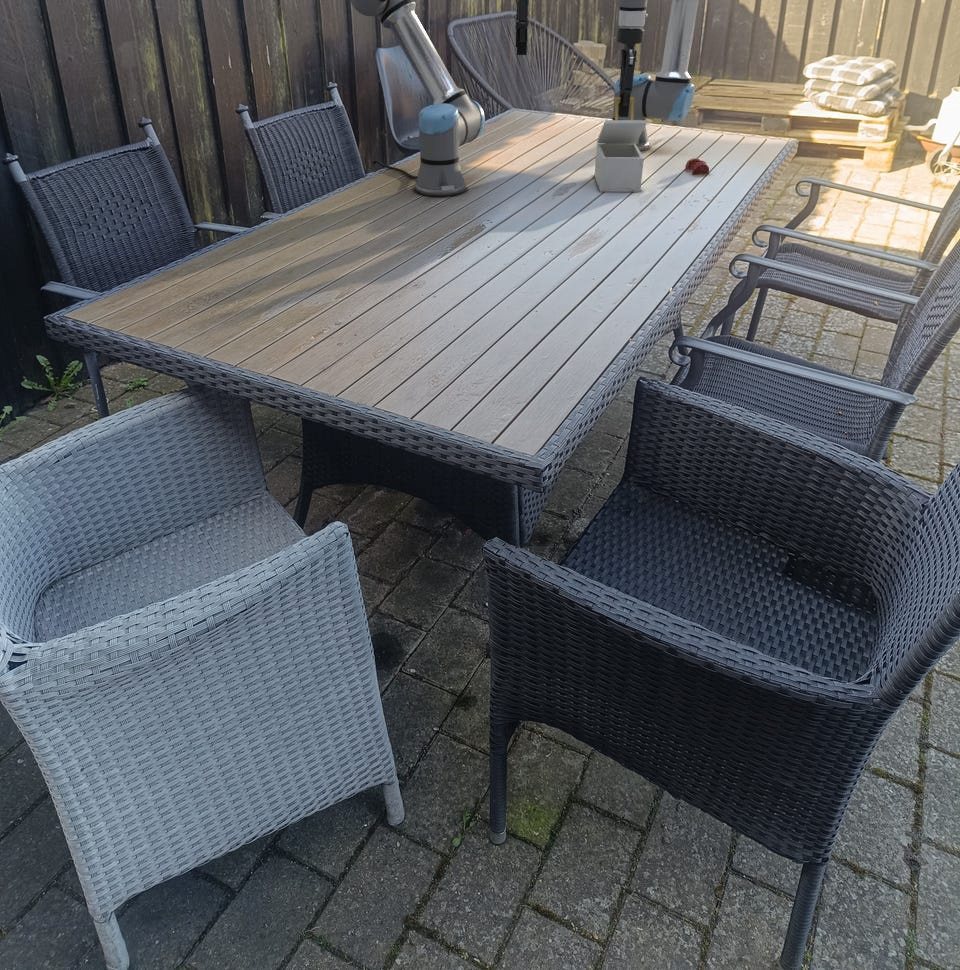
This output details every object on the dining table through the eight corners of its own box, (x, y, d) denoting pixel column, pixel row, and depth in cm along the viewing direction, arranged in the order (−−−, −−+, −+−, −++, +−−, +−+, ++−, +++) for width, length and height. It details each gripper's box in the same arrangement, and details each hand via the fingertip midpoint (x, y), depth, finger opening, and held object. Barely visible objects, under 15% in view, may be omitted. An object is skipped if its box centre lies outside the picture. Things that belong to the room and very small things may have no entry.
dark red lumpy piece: (700, 154, 275) (711, 161, 268) (699, 168, 277) (710, 175, 271) (684, 156, 274) (695, 163, 267) (683, 169, 276) (694, 176, 270)
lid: (646, 123, 247) (647, 93, 246) (605, 123, 247) (605, 93, 246) (635, 143, 265) (636, 115, 264) (596, 143, 265) (597, 115, 264)
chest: (640, 191, 257) (643, 158, 251) (600, 191, 257) (602, 158, 251) (632, 175, 271) (635, 143, 265) (594, 175, 271) (596, 143, 265)
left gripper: (539, -34, 216) (536, 58, 229) (535, -41, 237) (532, 43, 249) (510, -34, 216) (508, 58, 229) (508, -41, 237) (507, 43, 249)
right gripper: (648, 30, 233) (639, 121, 246) (640, 23, 244) (632, 110, 258) (621, 30, 233) (613, 121, 246) (614, 23, 244) (607, 110, 258)
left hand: (520, 51), depth 239 cm, fingers open, 13 cm apart
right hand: (623, 115), depth 252 cm, fingers closed on lid, 1 cm apart
